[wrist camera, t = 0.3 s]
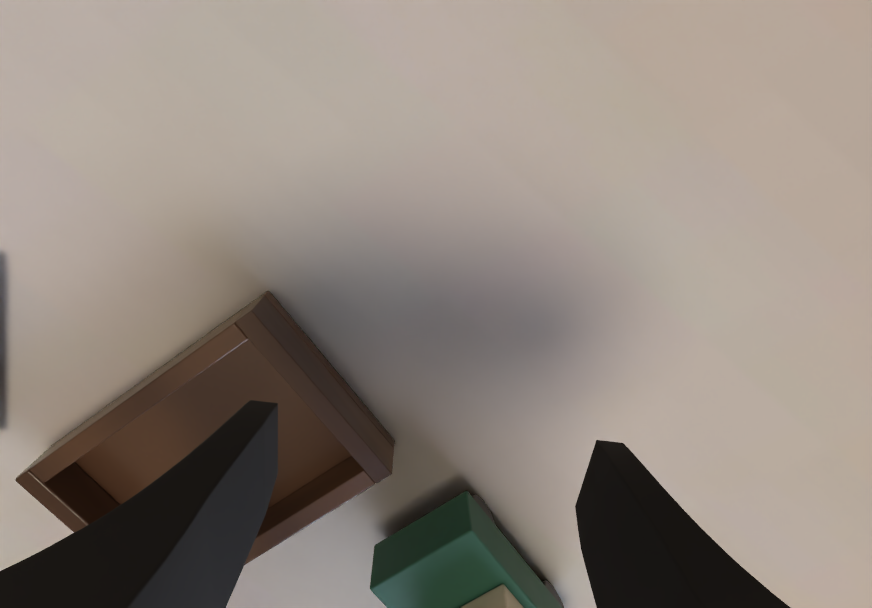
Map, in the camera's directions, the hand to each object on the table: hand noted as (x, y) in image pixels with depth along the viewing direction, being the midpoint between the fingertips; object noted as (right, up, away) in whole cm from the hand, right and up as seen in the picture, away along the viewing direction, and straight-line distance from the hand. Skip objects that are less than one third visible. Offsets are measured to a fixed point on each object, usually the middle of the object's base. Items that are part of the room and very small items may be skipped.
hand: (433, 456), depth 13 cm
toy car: (+2, -9, +14) cm, 17 cm away
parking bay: (-9, -3, +12) cm, 15 cm away
